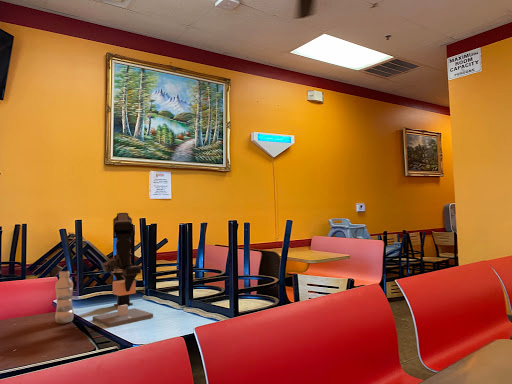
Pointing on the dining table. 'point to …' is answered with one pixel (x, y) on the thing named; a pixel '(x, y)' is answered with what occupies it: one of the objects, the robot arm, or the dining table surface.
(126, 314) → the panel
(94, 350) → the dining table surface
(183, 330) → the dining table surface
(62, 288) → the plastic bottle
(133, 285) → the orange block
